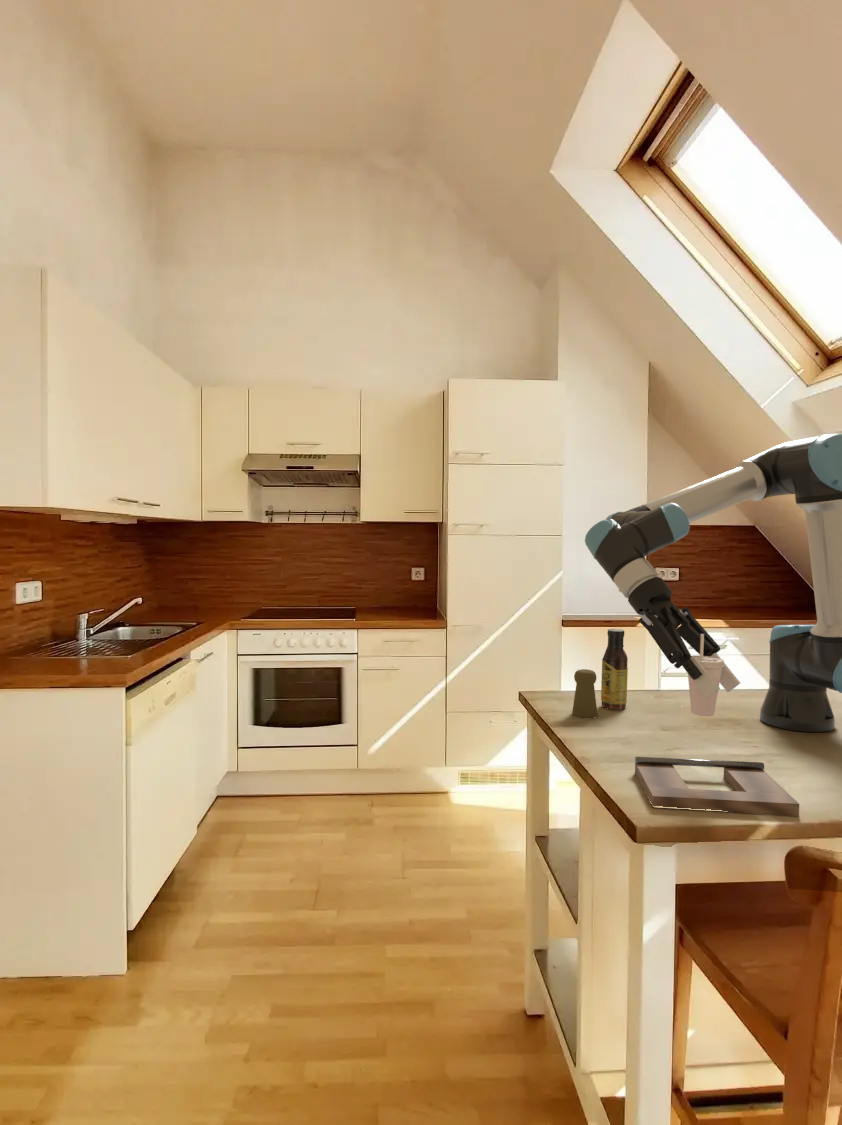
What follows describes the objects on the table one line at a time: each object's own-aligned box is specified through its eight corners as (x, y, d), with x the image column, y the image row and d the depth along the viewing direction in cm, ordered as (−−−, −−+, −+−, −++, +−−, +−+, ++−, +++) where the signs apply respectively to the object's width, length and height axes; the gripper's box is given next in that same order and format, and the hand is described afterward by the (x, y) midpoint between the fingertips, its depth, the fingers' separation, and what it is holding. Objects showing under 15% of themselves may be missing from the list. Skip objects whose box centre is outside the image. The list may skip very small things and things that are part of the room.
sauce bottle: (598, 704, 174) (599, 627, 173) (622, 704, 174) (624, 627, 173) (604, 711, 167) (605, 631, 167) (630, 711, 167) (631, 631, 166)
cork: (598, 719, 160) (599, 673, 160) (572, 717, 161) (572, 671, 161) (596, 712, 166) (597, 668, 166) (571, 711, 167) (572, 666, 167)
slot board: (761, 779, 122) (761, 768, 121) (798, 816, 106) (799, 803, 106) (634, 773, 125) (635, 762, 124) (652, 808, 109) (652, 795, 109)
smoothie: (689, 706, 124) (691, 630, 123) (726, 712, 120) (729, 634, 119) (678, 713, 119) (681, 634, 118) (717, 720, 115) (720, 638, 114)
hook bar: (761, 768, 122) (761, 761, 122) (764, 770, 120) (764, 763, 120) (635, 762, 125) (635, 755, 124) (636, 764, 123) (636, 757, 123)
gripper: (658, 598, 137) (735, 694, 125) (600, 603, 124) (678, 710, 113) (684, 573, 132) (766, 671, 120) (625, 576, 120) (710, 685, 108)
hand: (723, 690), depth 116 cm, fingers closed on smoothie, 6 cm apart
